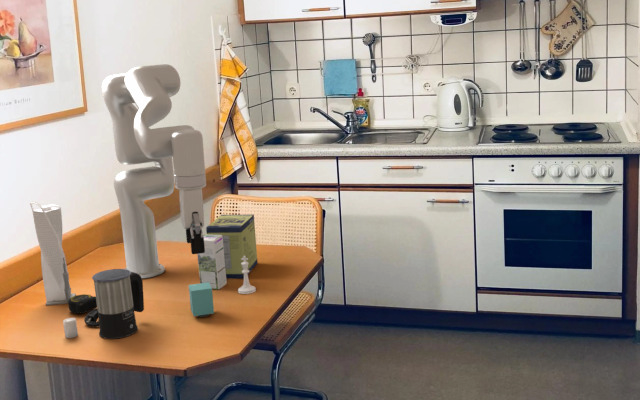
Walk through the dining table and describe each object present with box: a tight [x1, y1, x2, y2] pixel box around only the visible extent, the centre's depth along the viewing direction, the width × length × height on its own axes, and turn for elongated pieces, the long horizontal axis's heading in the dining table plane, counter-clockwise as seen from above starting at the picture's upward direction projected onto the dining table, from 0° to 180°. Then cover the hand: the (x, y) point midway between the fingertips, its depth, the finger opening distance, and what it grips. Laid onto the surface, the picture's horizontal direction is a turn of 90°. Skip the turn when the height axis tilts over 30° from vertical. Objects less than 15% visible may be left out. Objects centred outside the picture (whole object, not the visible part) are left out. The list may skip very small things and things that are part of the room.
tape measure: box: [67, 293, 97, 314], centre depth 215 cm, size 7×7×4 cm
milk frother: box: [83, 268, 145, 340], centre depth 200 cm, size 14×16×15 cm
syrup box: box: [196, 234, 228, 290], centre depth 227 cm, size 6×6×14 cm
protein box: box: [205, 214, 258, 280], centre depth 241 cm, size 10×16×16 cm
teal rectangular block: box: [188, 282, 215, 317], centre depth 206 cm, size 5×5×7 cm
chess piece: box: [237, 256, 257, 295], centre depth 222 cm, size 5×5×10 cm
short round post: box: [62, 317, 79, 339], centre depth 197 cm, size 3×3×4 cm
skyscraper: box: [29, 201, 77, 306], centre depth 222 cm, size 8×8×28 cm
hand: (195, 247), depth 203 cm, fingers open, 9 cm apart
